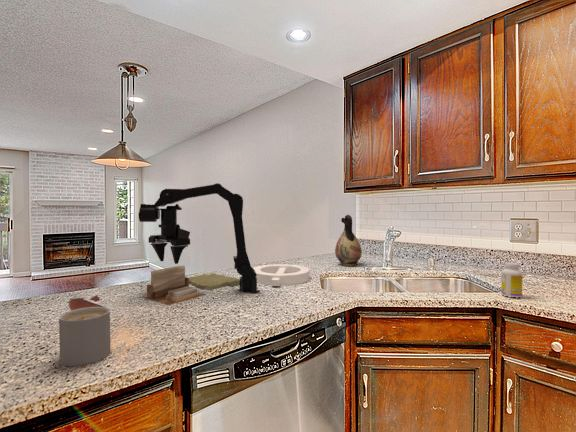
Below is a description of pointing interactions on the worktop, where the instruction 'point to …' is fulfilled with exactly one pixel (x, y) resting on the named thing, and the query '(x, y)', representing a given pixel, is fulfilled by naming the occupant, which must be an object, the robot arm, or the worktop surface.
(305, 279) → the ring with crossbar
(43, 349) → the worktop surface
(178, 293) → the grey offcut
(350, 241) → the ceramic jug
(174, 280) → the birch sheet
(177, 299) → the oak offcut
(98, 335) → the coffee mug
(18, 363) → the worktop surface
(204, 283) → the decorative tile
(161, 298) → the walnut rack
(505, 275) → the supplement bottle
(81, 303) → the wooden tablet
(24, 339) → the worktop surface
